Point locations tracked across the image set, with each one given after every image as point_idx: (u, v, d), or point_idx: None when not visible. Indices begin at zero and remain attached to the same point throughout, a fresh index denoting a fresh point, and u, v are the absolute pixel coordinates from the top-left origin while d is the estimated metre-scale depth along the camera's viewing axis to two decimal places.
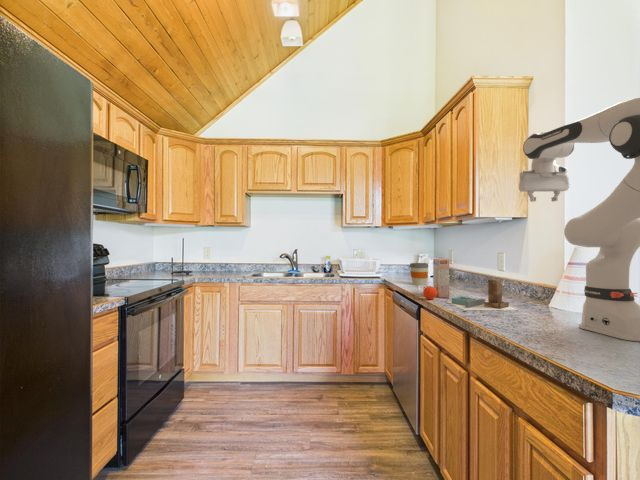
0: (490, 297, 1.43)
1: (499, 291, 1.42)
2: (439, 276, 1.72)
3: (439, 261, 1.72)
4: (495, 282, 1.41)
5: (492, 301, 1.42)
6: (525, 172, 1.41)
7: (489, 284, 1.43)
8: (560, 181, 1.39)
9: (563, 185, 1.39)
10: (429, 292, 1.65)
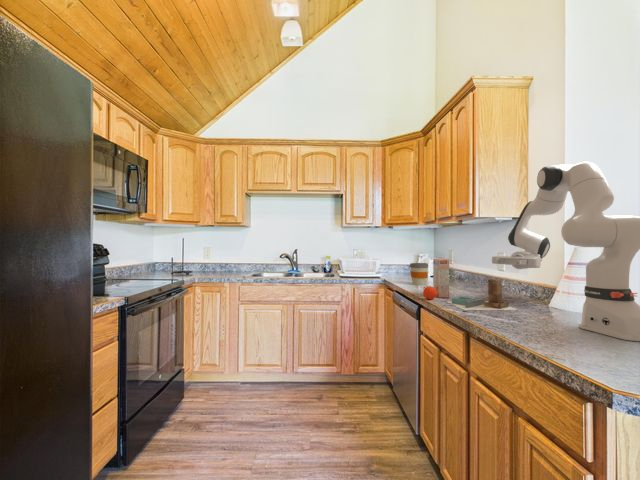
0: (490, 297, 1.43)
1: (499, 291, 1.42)
2: (439, 276, 1.72)
3: (439, 261, 1.72)
4: (495, 282, 1.41)
5: (492, 301, 1.42)
6: None
7: (489, 284, 1.43)
8: (530, 257, 1.50)
9: (531, 258, 1.48)
10: (429, 292, 1.65)
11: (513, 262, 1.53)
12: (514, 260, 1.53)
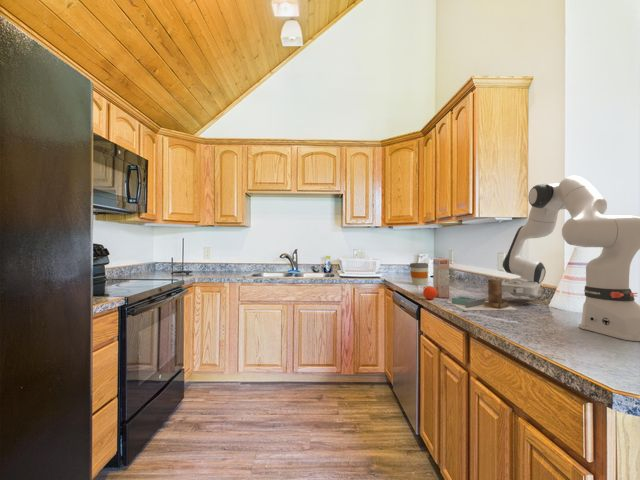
0: (490, 297, 1.43)
1: (499, 291, 1.42)
2: (439, 276, 1.72)
3: (439, 261, 1.72)
4: (495, 282, 1.41)
5: (492, 301, 1.42)
6: None
7: (489, 284, 1.43)
8: (527, 285, 1.48)
9: (528, 286, 1.46)
10: (429, 292, 1.65)
11: (510, 290, 1.51)
12: (511, 288, 1.51)
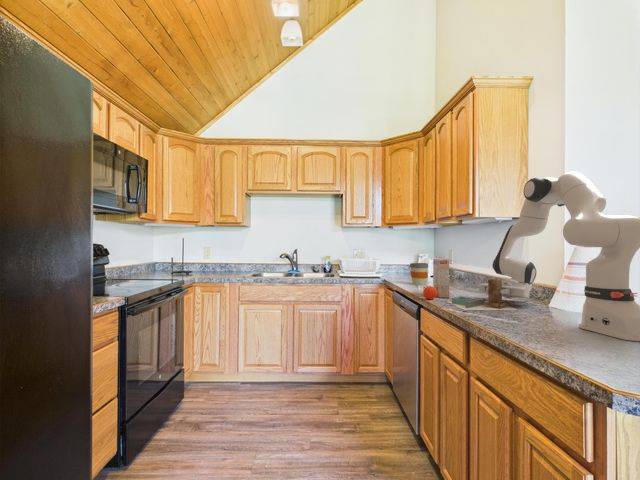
0: (490, 297, 1.43)
1: None
2: (439, 276, 1.72)
3: (439, 261, 1.72)
4: (495, 282, 1.41)
5: (492, 301, 1.42)
6: None
7: (489, 284, 1.43)
8: (517, 287, 1.43)
9: (518, 287, 1.41)
10: (429, 292, 1.65)
11: None
12: (501, 289, 1.45)
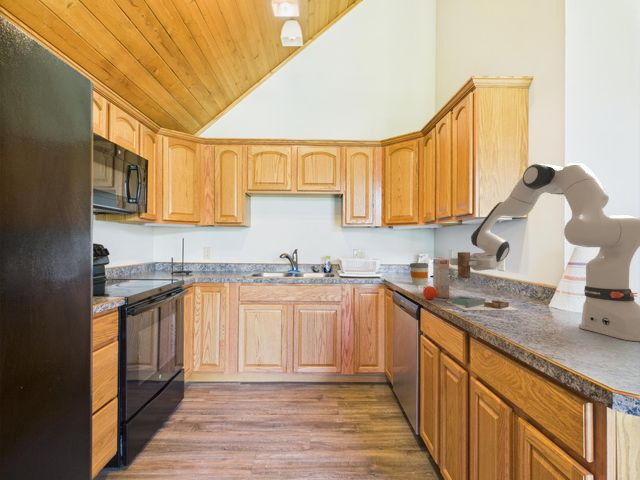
0: (459, 269, 1.51)
1: None
2: (439, 276, 1.72)
3: (439, 261, 1.72)
4: (463, 254, 1.49)
5: (461, 272, 1.50)
6: None
7: (458, 257, 1.51)
8: None
9: (486, 259, 1.48)
10: (429, 292, 1.65)
11: None
12: None
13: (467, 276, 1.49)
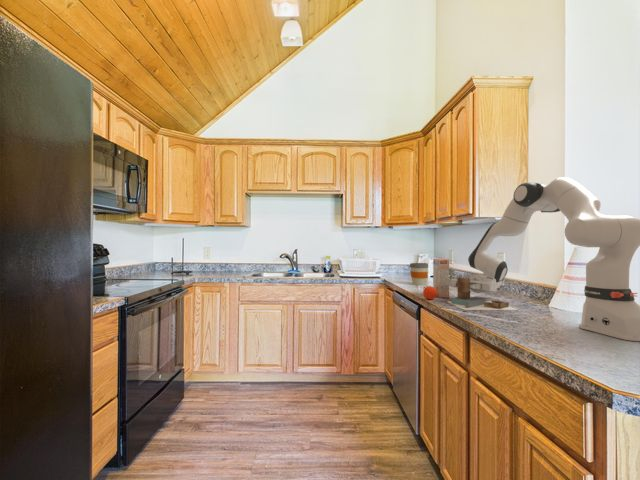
0: (459, 295, 1.50)
1: (467, 289, 1.49)
2: (439, 276, 1.72)
3: (439, 261, 1.72)
4: (463, 280, 1.48)
5: (461, 298, 1.50)
6: None
7: (458, 283, 1.51)
8: (485, 282, 1.50)
9: (485, 282, 1.48)
10: (429, 292, 1.65)
11: None
12: (470, 284, 1.53)
13: None
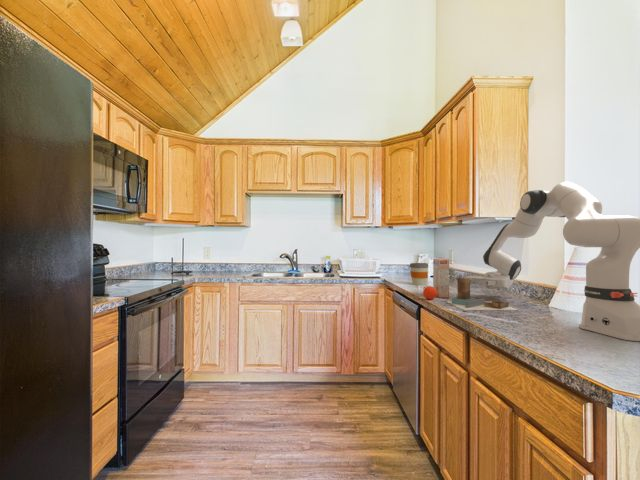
0: (459, 295, 1.50)
1: (467, 289, 1.49)
2: (439, 276, 1.72)
3: (439, 261, 1.72)
4: (463, 280, 1.48)
5: (461, 298, 1.50)
6: None
7: (458, 283, 1.51)
8: (499, 278, 1.57)
9: (500, 278, 1.55)
10: (429, 292, 1.65)
11: (484, 282, 1.60)
12: (485, 280, 1.60)
13: None
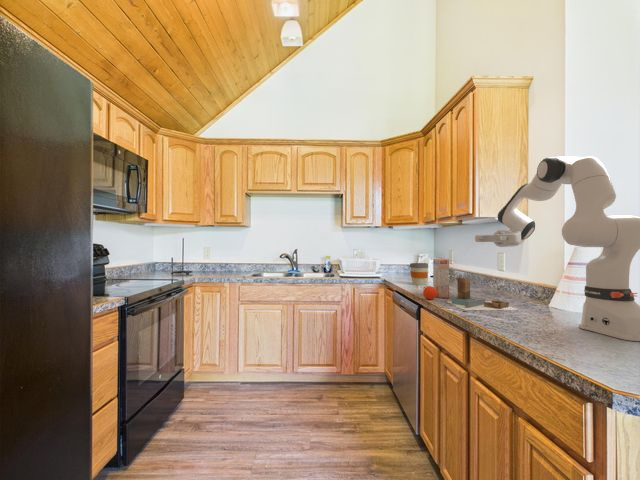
0: (459, 295, 1.50)
1: (467, 289, 1.49)
2: (439, 276, 1.72)
3: (439, 261, 1.72)
4: (463, 280, 1.48)
5: (461, 298, 1.50)
6: None
7: (458, 283, 1.51)
8: None
9: (511, 234, 1.53)
10: (429, 292, 1.65)
11: (495, 239, 1.59)
12: (496, 237, 1.58)
13: None
